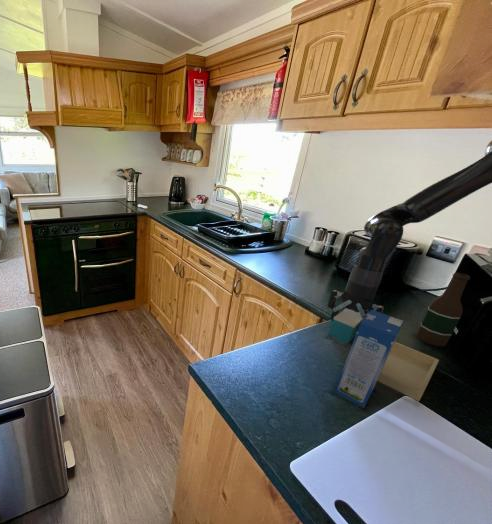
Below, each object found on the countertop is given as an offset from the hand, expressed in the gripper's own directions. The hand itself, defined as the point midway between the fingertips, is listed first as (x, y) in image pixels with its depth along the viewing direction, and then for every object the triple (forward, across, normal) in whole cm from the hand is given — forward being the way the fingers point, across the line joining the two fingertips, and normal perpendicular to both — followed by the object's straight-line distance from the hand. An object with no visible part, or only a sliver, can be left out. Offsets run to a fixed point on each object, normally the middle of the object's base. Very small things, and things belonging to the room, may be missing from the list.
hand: (347, 326), depth 94 cm
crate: (+3, -14, +7) cm, 16 cm away
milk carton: (+4, -11, +26) cm, 28 cm away
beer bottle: (+4, -18, -23) cm, 29 cm away
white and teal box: (+3, 0, 0) cm, 3 cm away
